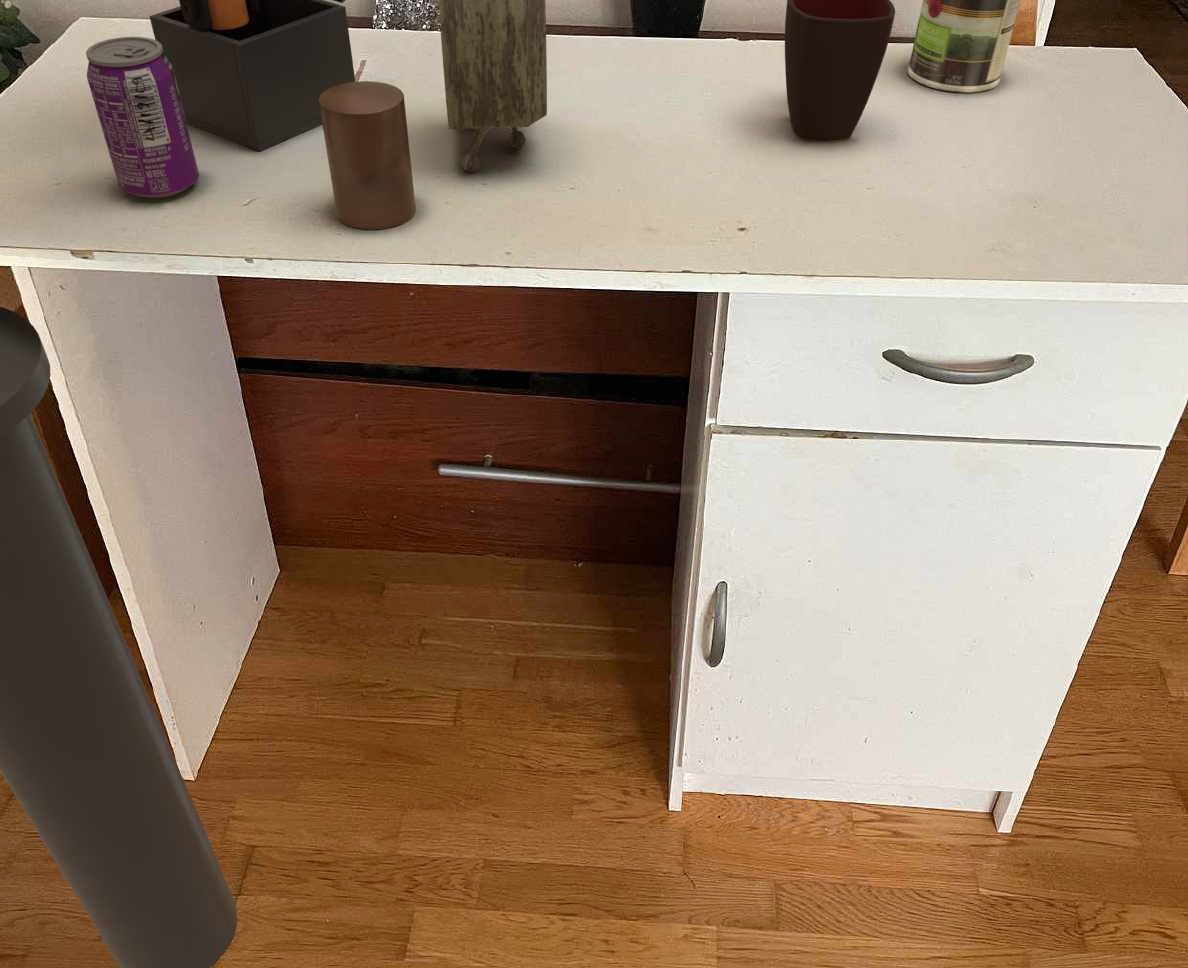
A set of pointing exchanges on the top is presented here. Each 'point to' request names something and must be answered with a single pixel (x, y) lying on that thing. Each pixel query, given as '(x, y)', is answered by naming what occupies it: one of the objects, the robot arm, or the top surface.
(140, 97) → the beverage can
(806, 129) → the cup
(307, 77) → the open storage bin
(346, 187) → the stand
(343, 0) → the lid
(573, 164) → the top surface
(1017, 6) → the coffee can
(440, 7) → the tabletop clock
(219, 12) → the cylinder
